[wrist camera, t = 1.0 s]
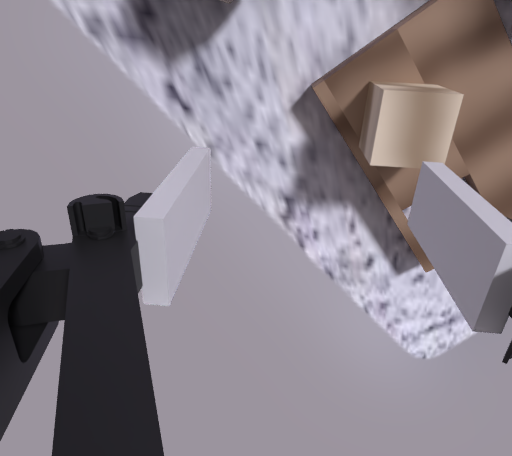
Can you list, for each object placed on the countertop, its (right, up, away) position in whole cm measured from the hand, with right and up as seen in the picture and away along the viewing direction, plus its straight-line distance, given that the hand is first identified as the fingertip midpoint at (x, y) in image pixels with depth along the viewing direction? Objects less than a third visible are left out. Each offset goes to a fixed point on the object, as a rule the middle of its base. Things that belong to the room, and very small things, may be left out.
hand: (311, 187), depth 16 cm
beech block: (+9, +7, +15) cm, 18 cm away
